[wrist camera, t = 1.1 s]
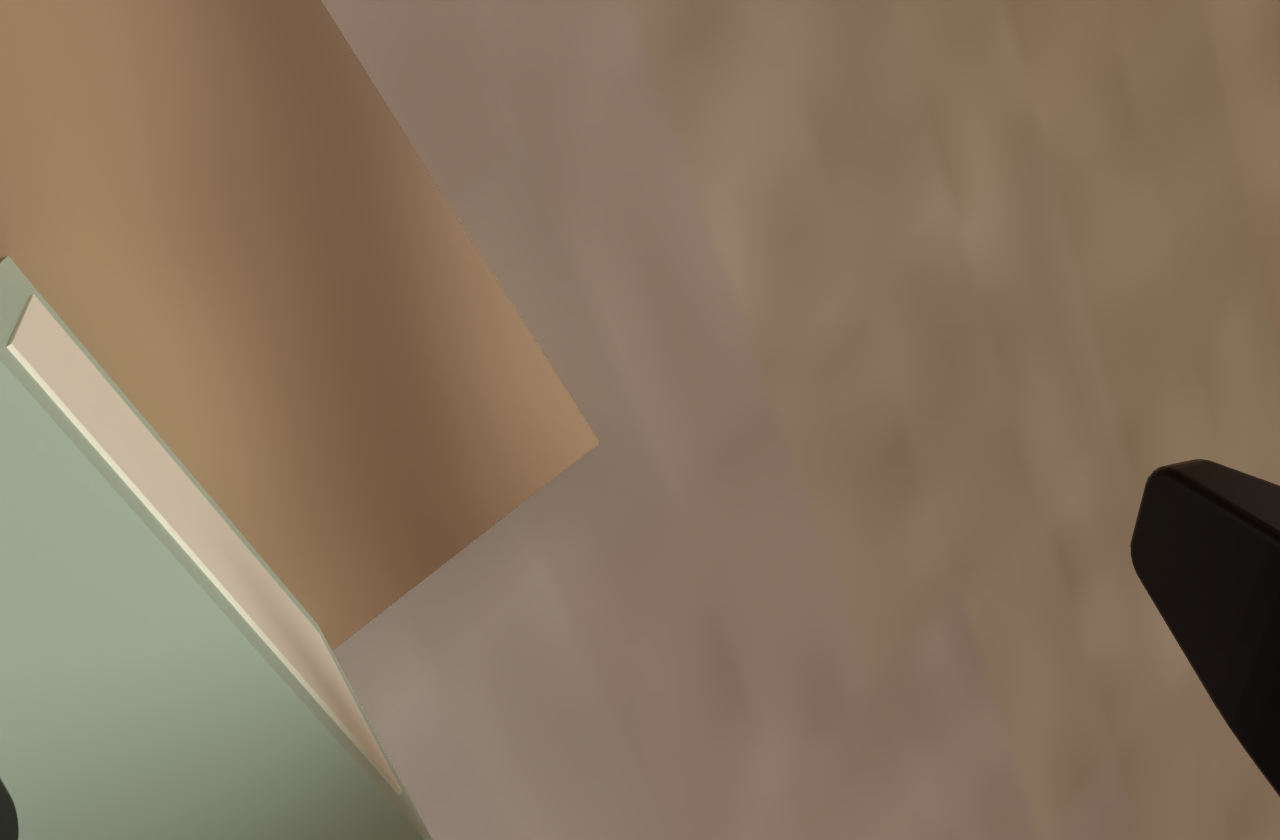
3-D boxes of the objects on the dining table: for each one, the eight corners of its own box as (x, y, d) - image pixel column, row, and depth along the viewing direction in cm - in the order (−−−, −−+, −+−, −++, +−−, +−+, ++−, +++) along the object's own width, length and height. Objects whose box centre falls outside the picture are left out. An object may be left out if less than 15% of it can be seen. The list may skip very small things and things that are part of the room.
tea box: (321, 623, 18) (450, 860, 11) (94, 796, 16) (103, 1160, 10) (11, 253, 15) (-39, 304, 9) (-286, 435, 14) (-588, 643, 7)
